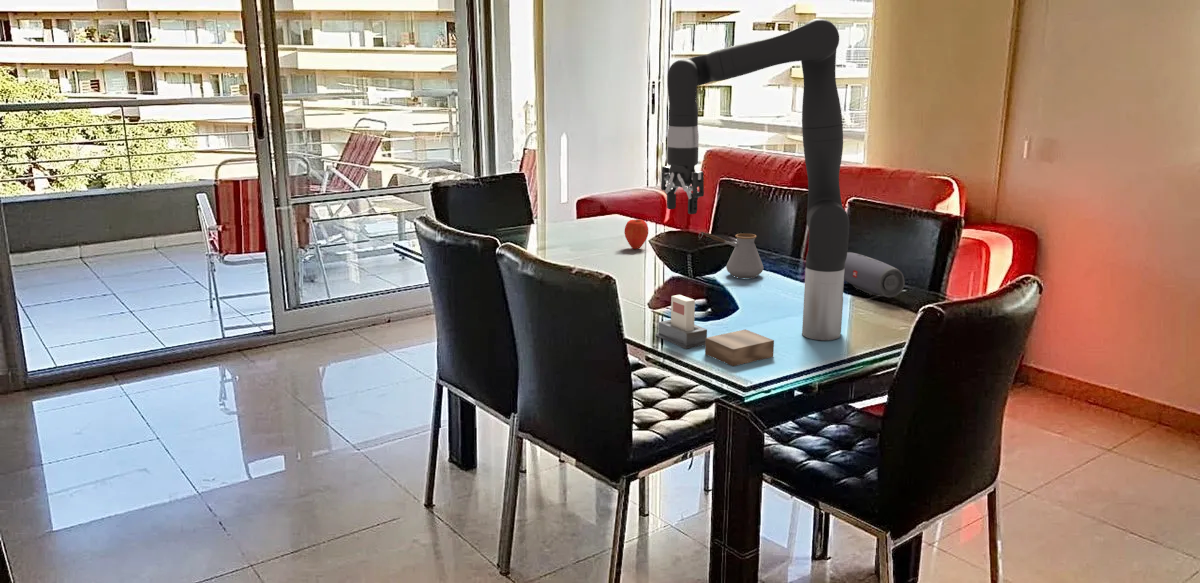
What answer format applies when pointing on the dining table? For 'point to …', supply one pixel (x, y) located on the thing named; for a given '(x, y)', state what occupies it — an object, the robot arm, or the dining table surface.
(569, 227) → the dining table surface
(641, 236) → the apple
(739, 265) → the coffee pot
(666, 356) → the dining table surface
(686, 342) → the grey box
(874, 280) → the bluetooth speaker
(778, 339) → the dining table surface
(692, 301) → the white box
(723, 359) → the brown wooden block
